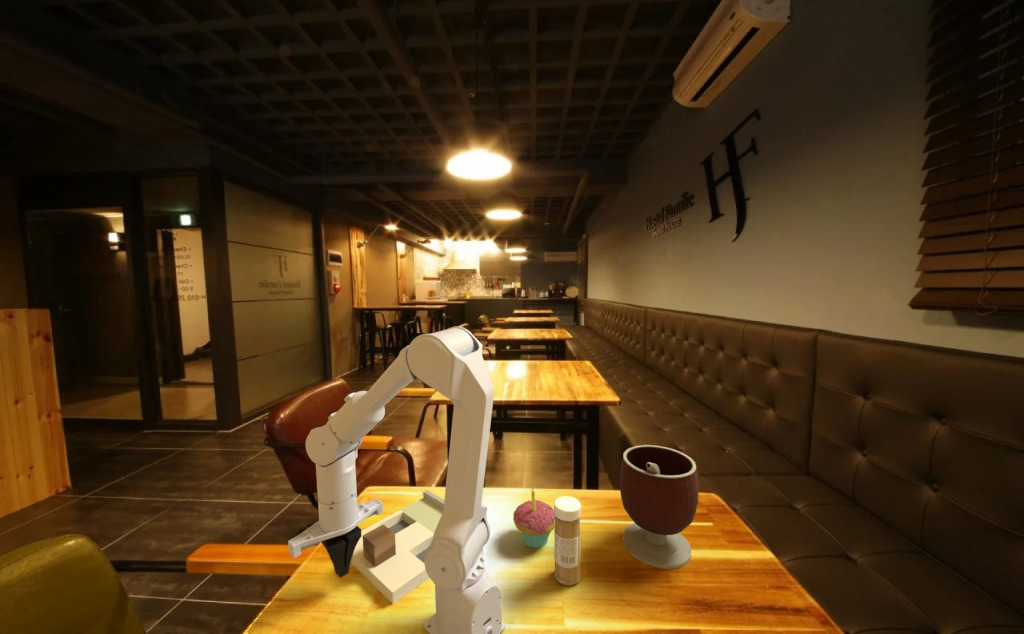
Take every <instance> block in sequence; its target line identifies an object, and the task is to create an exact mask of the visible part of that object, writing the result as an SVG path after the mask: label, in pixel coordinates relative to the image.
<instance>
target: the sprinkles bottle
mask: <svg viewBox="0 0 1024 634" xmlns="http://www.w3.org/2000/svg"><path fill="white" fill-rule="evenodd" d="M553 510H554V516H555V528H554V549H553V550H554V552H553V553H554V572H553V576H554V579H555V580H556V581H557V582H558V583H559V584H561V585H562V586H569V587H570V586H574V585H576V584H578V583H579V582H580V580H581V572H580V571H581V567H580V566H581V565H580V564H581V563H580V562H581V528H580V527H581V523H580V522H581V521H580V519H581V516H582V505H581V502H580V501H579V500H578V499H577V498H575V497H573V496H569V495H568V496H560V497H558V498H556V499H555V500H554V502H553Z"/></svg>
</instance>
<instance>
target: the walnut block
mask: <svg viewBox="0 0 1024 634" xmlns="http://www.w3.org/2000/svg"><path fill="white" fill-rule="evenodd" d="M363 554H364V557H365V558H366V559H367V560H368V561H369V562H370V563H371V564H372V565H373V566H374V567H377V566H378V565H380V564H381V563H383V562H385V561H386V560H388V559H389V558H391V557H393V556H394V555H396V545H395V533H394V532H392V531H391V530H390V529H388V528H387V527H386V526H385V525H381V526H379V527H377V528H375V529H374V530H372V531H370V532H368V533H366V534H364V535H363Z"/></svg>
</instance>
